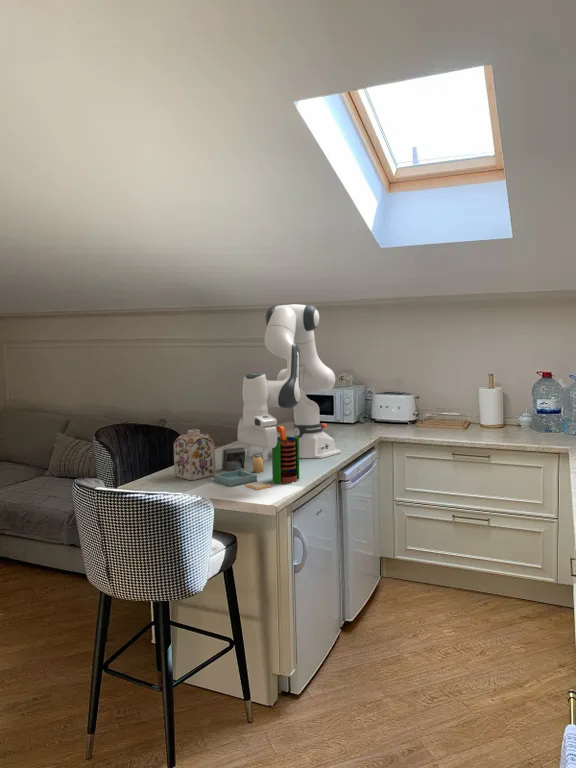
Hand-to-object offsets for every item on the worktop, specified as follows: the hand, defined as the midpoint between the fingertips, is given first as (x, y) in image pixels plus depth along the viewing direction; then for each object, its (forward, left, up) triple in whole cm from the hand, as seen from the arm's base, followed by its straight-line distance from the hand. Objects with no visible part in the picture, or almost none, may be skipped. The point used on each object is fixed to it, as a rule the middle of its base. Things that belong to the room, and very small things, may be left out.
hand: (256, 457), depth 211 cm
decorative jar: (+9, -30, -11) cm, 33 cm away
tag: (0, 0, -11) cm, 11 cm away
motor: (-12, 0, -11) cm, 16 cm away
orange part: (-13, -19, -11) cm, 26 cm away
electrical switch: (-9, -30, -11) cm, 33 cm away
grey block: (-3, -21, -11) cm, 24 cm away
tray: (+2, -12, -11) cm, 16 cm away
